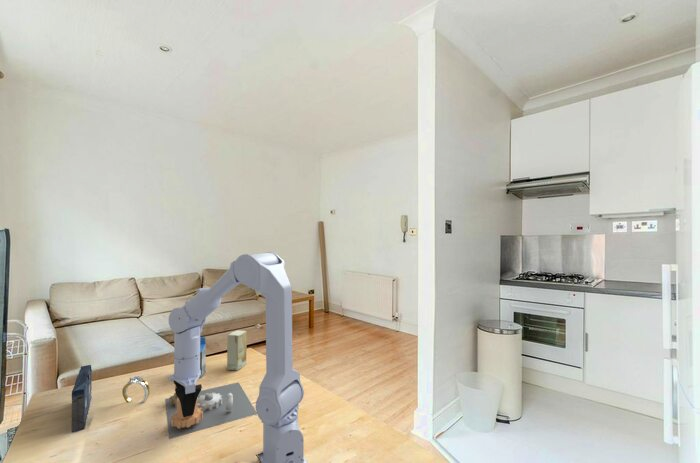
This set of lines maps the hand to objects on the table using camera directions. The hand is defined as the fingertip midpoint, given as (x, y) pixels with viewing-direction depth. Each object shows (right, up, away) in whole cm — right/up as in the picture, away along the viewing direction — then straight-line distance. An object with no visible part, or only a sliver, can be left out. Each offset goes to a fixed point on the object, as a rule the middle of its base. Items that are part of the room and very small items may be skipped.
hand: (187, 410), depth 80 cm
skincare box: (-1, -5, +37) cm, 37 cm away
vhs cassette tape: (-31, -5, +6) cm, 32 cm away
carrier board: (+1, -4, +9) cm, 10 cm away
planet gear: (0, -2, 0) cm, 2 cm away
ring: (-19, -5, +10) cm, 22 cm away
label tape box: (-14, -5, +30) cm, 34 cm away
